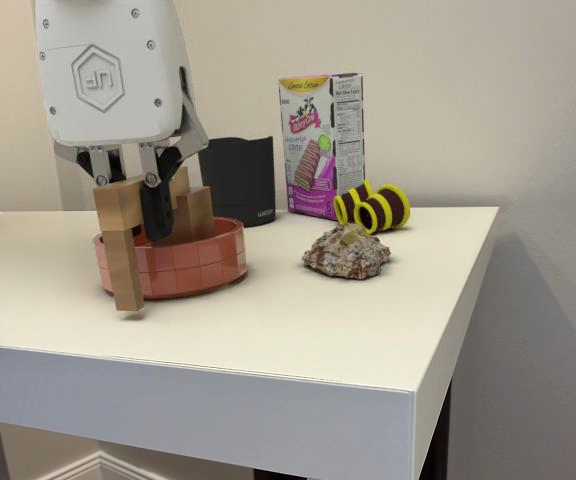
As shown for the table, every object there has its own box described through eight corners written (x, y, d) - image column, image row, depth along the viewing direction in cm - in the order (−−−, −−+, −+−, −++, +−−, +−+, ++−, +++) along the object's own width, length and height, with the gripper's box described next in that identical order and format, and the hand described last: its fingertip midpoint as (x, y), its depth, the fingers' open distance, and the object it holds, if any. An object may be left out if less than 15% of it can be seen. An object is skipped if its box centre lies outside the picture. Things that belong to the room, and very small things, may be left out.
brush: (150, 311, 49) (130, 187, 45) (103, 310, 50) (79, 189, 46) (218, 263, 61) (207, 162, 57) (179, 263, 62) (165, 164, 58)
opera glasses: (334, 230, 79) (325, 189, 77) (372, 215, 80) (364, 175, 78) (373, 244, 71) (364, 199, 68) (414, 228, 72) (407, 183, 70)
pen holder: (211, 232, 79) (200, 145, 75) (202, 219, 88) (192, 140, 83) (286, 223, 81) (280, 137, 77) (270, 211, 89) (264, 133, 85)
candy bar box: (285, 212, 88) (275, 78, 81) (315, 206, 90) (308, 75, 84) (336, 222, 79) (330, 72, 73) (368, 215, 82) (365, 70, 75)
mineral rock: (290, 233, 64) (368, 203, 63) (305, 274, 66) (380, 245, 65) (305, 263, 54) (396, 228, 54) (321, 309, 56) (410, 276, 56)
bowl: (73, 301, 56) (62, 249, 54) (144, 262, 68) (137, 217, 66) (216, 303, 52) (209, 247, 51) (266, 261, 64) (262, 215, 62)
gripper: (-37, -29, 43) (29, 250, 50) (186, -63, 38) (221, 249, 46) (33, -16, 49) (82, 229, 57) (230, -44, 45) (255, 226, 53)
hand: (144, 236), depth 51 cm, fingers closed on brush, 2 cm apart
